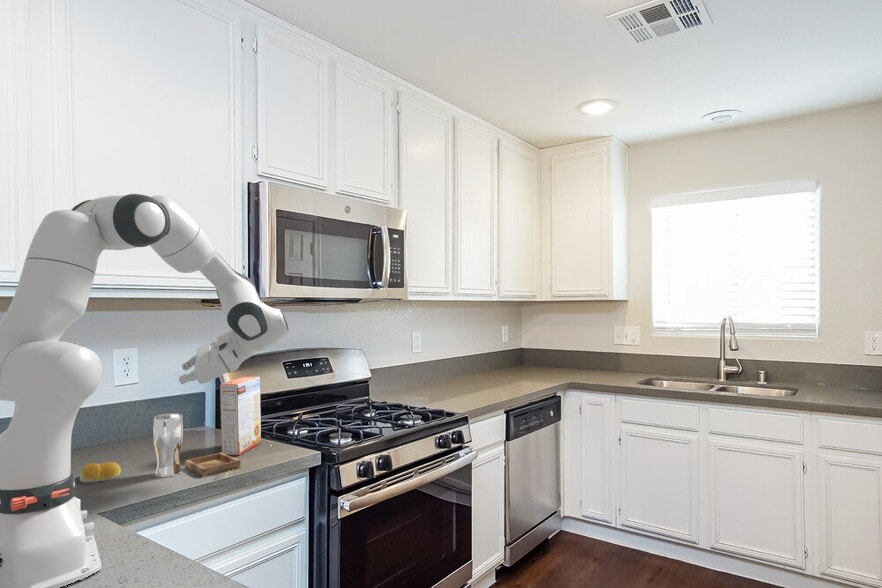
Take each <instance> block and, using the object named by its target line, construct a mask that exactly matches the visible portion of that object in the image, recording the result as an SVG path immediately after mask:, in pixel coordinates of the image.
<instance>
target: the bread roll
mask: <svg viewBox="0 0 882 588" xmlns="http://www.w3.org/2000/svg"><path fill="white" fill-rule="evenodd" d="M121 472H122V468H121V466H120V464H118V463H116V462H113V461H108V462H103V463H96V462H93V463H89V464H86V465H84V466H83V468H82V469H81V470H80V474H79V482H80V483H88V484H89V483H90V484H91V483H96V482H97V483H98V482H100V481H101V482H105V481H110V480H113V479H116V478H117V477H118V476H120V475H121Z"/></svg>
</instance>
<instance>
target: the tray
mask: <svg viewBox="0 0 882 588" xmlns="http://www.w3.org/2000/svg"><path fill="white" fill-rule="evenodd" d="M184 461H185V462H184V466H185V469H187V470H188V471H191V472H193V473H195V474H197V473H198V474H197V475H199V474H200V475H199V476H201V475H202V476H201V477H203V476H206V477H208V476H207V475H210V476H212V475H211V474H214V475H216V474H215V473H218V474H220V473H219V472H222V473H225V472H224V471H226V472H229V471H228V470H230V471H233V470H232V469H234V470H238V469H241V467H242V466H241V465H242V463H241V460H240V459H238V458H236V457H233V456H232V455H226V454H224V453H222V452H217V453H213V454H208V455H205V456H204V455H203V456H199V457H195V458H190V459H186V460H184ZM237 468H238V469H237Z"/></svg>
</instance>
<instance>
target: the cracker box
mask: <svg viewBox="0 0 882 588" xmlns="http://www.w3.org/2000/svg"><path fill="white" fill-rule="evenodd" d="M219 389H220V390H219V391H220V395H219V396H220V398H219V399H220V433H221V434H220V435H221V437H220V438H221V440H220V441H221V443H220V444H221V453H224V454H226V455H229V456H241V455H243V454H245V453H246V452H247V451H248V450H251V449H252V448H254V447H256V446H257V445H259V444H261V442H262V434H261V431H262V430H261V429H262V428H261V427H262V425H261V423H262V421H261V420H262V419H261V418H262V417H261V377H260V376H242V377H239V378H235V379H232V380H230V381H227V382H224V383H221V384H220V386H219Z"/></svg>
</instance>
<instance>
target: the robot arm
mask: <svg viewBox="0 0 882 588" xmlns="http://www.w3.org/2000/svg"><path fill="white" fill-rule="evenodd" d="M148 246H150V248H151V249H152V250H153V251H154V252H155V253H156V254H157V255H158V256H159V257H160V258H161V259H162V260H163V261H164V262H165V263H166V264H167V265H168V266H170V267H171V268H172V269H174V270H175V271H177V272H178V273H182V274H190V273H195V272H197V271H198V272H200V273H201V274H202V275H203V276H204V277H205V278H206V280H208V281H209V282H210V283H211V284H212V285H213V286H214V287H215V290H216V296H217V297H218V301H219V303H220V304H221V305H220V306H221V309H222V312H223V315H224V319H225V321H226V323H227V325H228V326H229V328H230V330H228V331H226V332H224V333H222V334H220V335H219V336H216V338H215V339H213V340H210V341H209V342H206V343H204V344H202V345H201V346H199V347H198V348H197V349H196V354H195V355H194V356H192V357H190V359H188V360H187V361H186V362H183V363H182V364H181V368H182V370H183V371H185V372H186V371H188V370H190V369H192V367H194V368H193V370H192V371H190V372H189V373H184V374H182V375H180V376H179V378H178V381H179V383H180V384H181V385H185V384H186V383H189V382H193V381H198V383H199V384H206V383H209V382H211V381H212V380H213V381H214V380H215V379H218V378H220V377H221V376H224V375H225V374H227V373H228V372H229V371H230V372H231V373H232V372H235V371H237V370H238V369H239V367H240V366H241V364H242V363H243V362H245V360H248V359H250V358H251V357H252V356H253V355H255V354H256V353H257V352H261V351H264V350H267V349H269V348H270V347H272V346H274V345H276V344H277V343H278V342H280V341H281V340H283V339H284V338H285V337H286V336H287V335H288V334H289V326H288V325H289V324H288V322H287V320H286V317H285V315H284V313H283V311H282V310H281V309H280V308H275V307H272V306H270V305H267V304H266V303H264V302H263V301H262V300H261V299H260V297H259V293H258V290H257V287H256V284H255V282H254V281H253V280H252V279H251V278H250V277H248V276H246V275H244V274H242V273H239V272H238V271H236V270H235V269H233V268H232V267H231V265H229V264H228V263H227V261H225V260H224V258H223V257H222V256H221V255H220V254H219V253H218V251H216V250H215V246H214V245H213V243H212V241H211V240H210V238H209V236H208V235H207V234H206V232H205V231H204V229H203V228H202V227H201V226H200V225H199V224H198V222H196V220H195V219H194V218H193V217H192V216H191V215H190V214H189V213H188V212H187V211H186V210H185V209H183V208H182V207H181V206H180V205H179V204H178V203H177V202H175V200H173V199H171V198H170V197H168V196H165V195H160V194H158V195H152V196H149V195H145V194H140V193H130V194H126V195H125V194H124V195H123V194H122V195H106V196H100V197H97V198H94V199H88V200H84V201H82V202H80V203H78V204H76V205H75V206H73V207H72V208H71V209H59V210H53V211H52V212H49V213H48V214H46V215H45V216H44V218H42V221H41V223H39V226H38V228H37V229H36V232H35V233H34V236H33V238H32V241H31V243H30V245H29V247H28V249H27V254H26V257H25V259H24V264H23V267H22V271H21V274H20V276H19V280H18V283H17V287H16V289H15V292H14V296H13V298H12V300H11V302H10V305H9V307H8V308H7V311H6V312H5V313H4V315H3V316H2V319H1V320H0V401H5V402H14V409H13V414H12V418H11V420H10V422H9V425H8V427H7V428H6V429H5V430H4V431H3V432H1V433H0V588H58V587H61V586H64V585H67V584H69V583H72V582H74V581H77V580H80V579H83V578H85V577H88V576H89V575H91V574H93V573H95V572H97V571H99V570H100V569H101V568H103V567H102V562H101V557H100V553H99V551H98V546H97V543H96V538H95V536H94V535H95V531H96V530H95V522H93V521H90V522H87V523H84V521H83V520H84V519H87V518H88V510H87V509H86V510H82V509H81V499H79V498H78V497H76V496H75V495H76V490H75V487H76V482H75V478H74V473H73V472H72V471H71V470H72V469H71V468H72V467H71V466H72V465H71V461H72V456H71V455H72V435H73V434H72V433H73V429H74V425H75V421H76V418H77V416H78V413H79V411H80V409H81V406H82V405H83V403H84V402H85V401H86V400H87V399H88V398H89V397H91V396H92V395H93V394H94V393H95V392H96V391H97V389H98V387H99V385H100V383H101V381H102V376H103V365H102V362H101V359H100V357H99V356H98V354H97V353H96V352H95V351H93V350H92V349H90V348H88V347H85V346H83V345H82V346H81V345H79V344H75V343H72V342H70V341H60V339H61V338H62V336H63V335H64V333H65V332H66V331H67V329H68V328H69V327H71V325H72V324H74V323H75V322H76V321H78V320H79V319H80V318H82V316H83V315H84V314H85V312H86V310H87V307H88V302H89V299H90V295H91V291H92V287H93V283H94V279H95V276H96V271H97V267H98V261H99V257H100V255H101V254H102V252H103V251H105V250H107V251H111V250H112V251H113V250H114V251H124V250H131V249H135V248H136V249H137V248H146V247H148ZM101 570H102V569H101ZM101 570H100V571H101ZM100 571H99V572H100ZM97 573H98V572H97ZM95 574H96V573H95ZM88 578H89V577H88ZM83 580H84V579H83Z"/></svg>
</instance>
